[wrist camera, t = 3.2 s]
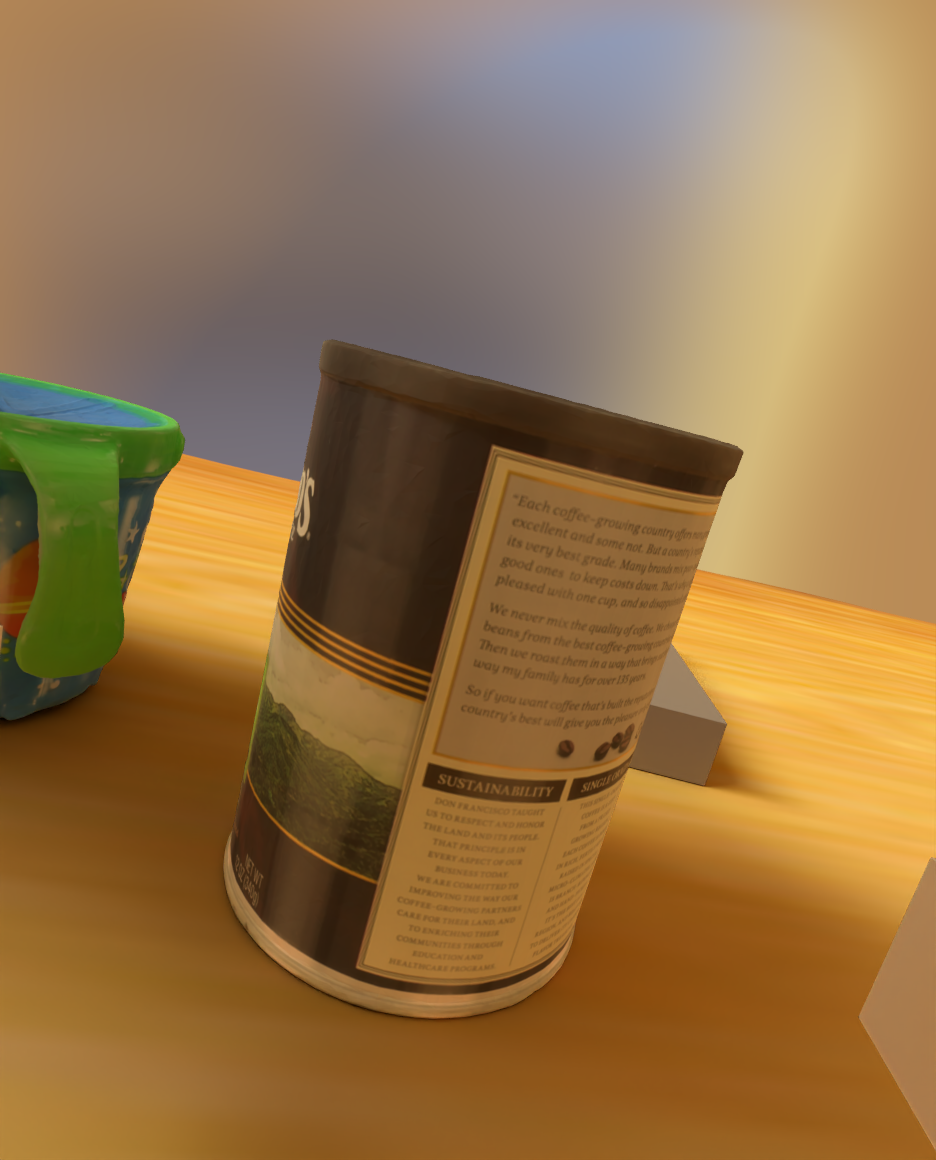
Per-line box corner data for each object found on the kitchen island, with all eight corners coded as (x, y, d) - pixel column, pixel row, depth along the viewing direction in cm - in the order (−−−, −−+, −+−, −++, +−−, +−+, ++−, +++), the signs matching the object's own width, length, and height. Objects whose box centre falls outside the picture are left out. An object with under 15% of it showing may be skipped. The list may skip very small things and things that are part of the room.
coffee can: (138, 934, 17) (244, 311, 14) (306, 748, 27) (392, 357, 24) (569, 1091, 16) (797, 453, 13) (581, 838, 26) (712, 439, 23)
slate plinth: (301, 684, 32) (315, 619, 32) (376, 576, 52) (386, 534, 51) (704, 785, 33) (727, 724, 32) (629, 640, 52) (642, 600, 51)
